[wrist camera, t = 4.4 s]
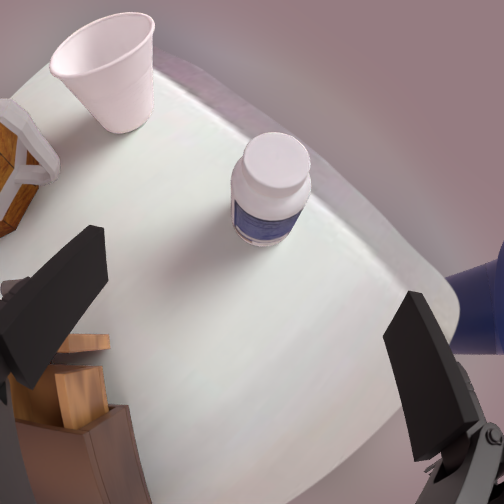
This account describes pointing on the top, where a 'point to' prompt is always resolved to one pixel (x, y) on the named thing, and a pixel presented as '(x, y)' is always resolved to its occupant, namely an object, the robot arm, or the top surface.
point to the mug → (21, 163)
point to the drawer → (63, 386)
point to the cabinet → (84, 461)
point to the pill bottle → (269, 188)
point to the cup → (110, 69)
